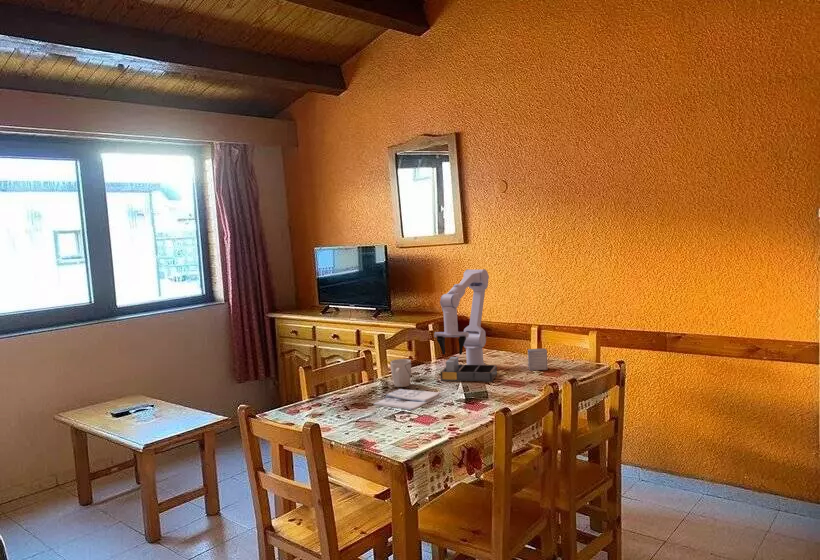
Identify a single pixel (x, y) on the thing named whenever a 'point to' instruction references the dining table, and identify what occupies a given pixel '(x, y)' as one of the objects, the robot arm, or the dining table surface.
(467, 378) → the rack
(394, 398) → the open book
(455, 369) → the panel
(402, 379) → the mug
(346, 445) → the dining table surface
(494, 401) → the dining table surface
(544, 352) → the medicine box
